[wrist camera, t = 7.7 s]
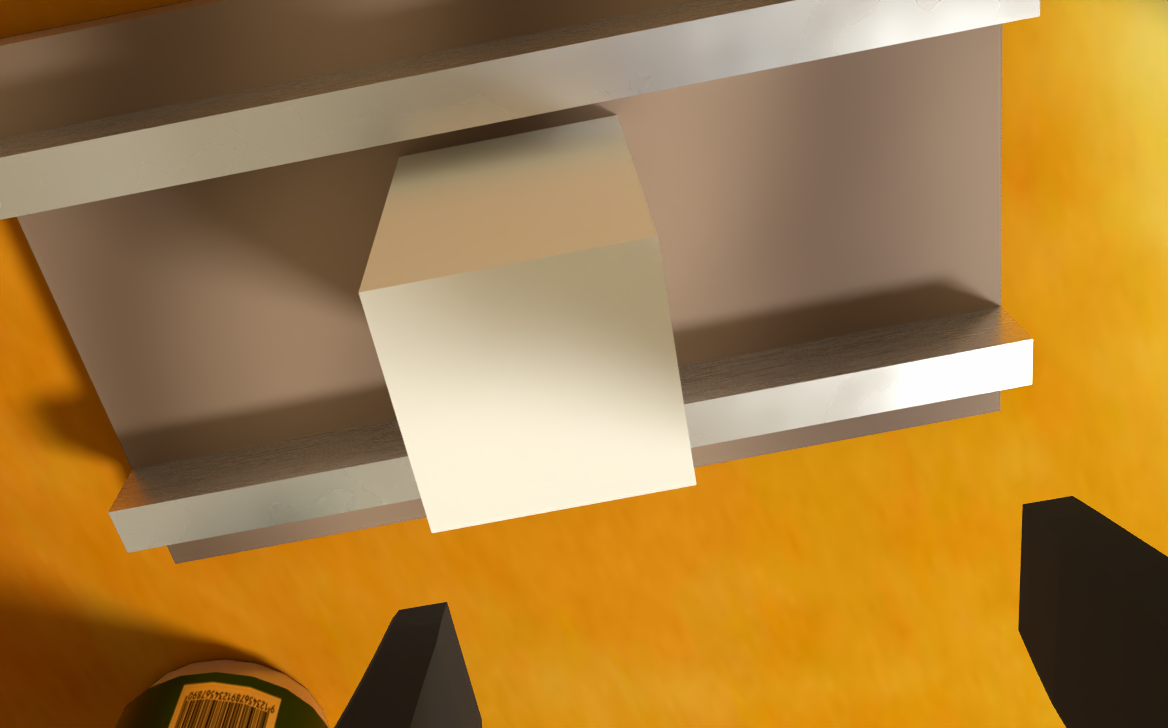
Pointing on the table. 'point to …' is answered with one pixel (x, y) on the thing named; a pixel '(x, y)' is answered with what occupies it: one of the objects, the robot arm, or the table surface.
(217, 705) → the beer can
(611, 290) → the cream block
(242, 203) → the track
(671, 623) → the table surface
